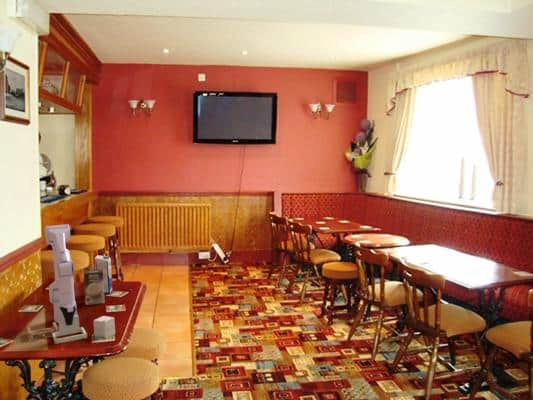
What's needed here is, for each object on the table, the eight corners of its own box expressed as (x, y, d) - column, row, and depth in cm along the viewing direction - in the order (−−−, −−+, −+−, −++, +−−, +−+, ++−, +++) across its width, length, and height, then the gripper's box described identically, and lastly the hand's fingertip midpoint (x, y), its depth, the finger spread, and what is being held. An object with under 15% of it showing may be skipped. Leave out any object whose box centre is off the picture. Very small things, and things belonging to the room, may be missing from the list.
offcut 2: (54, 334, 210) (54, 329, 209) (55, 335, 208) (55, 331, 207) (44, 335, 208) (44, 331, 208) (45, 337, 206) (44, 332, 206)
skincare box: (104, 332, 213) (102, 315, 212) (115, 334, 210) (114, 317, 209) (93, 337, 207) (92, 320, 206) (105, 339, 205) (104, 321, 204)
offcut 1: (42, 336, 207) (42, 331, 207) (43, 338, 205) (42, 333, 205) (32, 338, 205) (32, 333, 205) (32, 340, 204) (32, 335, 203)
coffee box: (85, 305, 249) (83, 273, 248) (85, 301, 255) (83, 270, 254) (104, 303, 252) (103, 271, 250) (104, 299, 258) (102, 268, 256)
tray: (83, 332, 213) (82, 327, 212) (87, 339, 205) (86, 333, 205) (52, 338, 207) (52, 332, 206) (55, 345, 199) (55, 340, 199)
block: (78, 329, 208) (77, 315, 207) (79, 330, 207) (78, 316, 206) (59, 332, 204) (58, 318, 204) (59, 333, 203) (58, 319, 202)
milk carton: (99, 291, 274) (97, 254, 272) (112, 290, 275) (110, 254, 272) (96, 294, 267) (94, 257, 265) (109, 294, 268) (107, 257, 265)
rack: (55, 329, 217) (54, 321, 216) (58, 337, 208) (58, 328, 208) (27, 335, 211) (26, 326, 211) (29, 342, 203) (28, 334, 202)
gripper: (53, 289, 208) (55, 321, 209) (58, 297, 195) (61, 331, 197) (71, 286, 211) (73, 317, 213) (77, 294, 199) (80, 328, 200)
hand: (68, 324), depth 205 cm, fingers closed on block, 1 cm apart
